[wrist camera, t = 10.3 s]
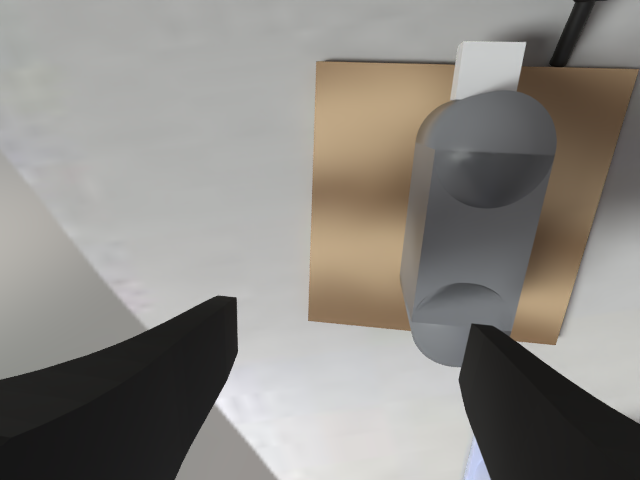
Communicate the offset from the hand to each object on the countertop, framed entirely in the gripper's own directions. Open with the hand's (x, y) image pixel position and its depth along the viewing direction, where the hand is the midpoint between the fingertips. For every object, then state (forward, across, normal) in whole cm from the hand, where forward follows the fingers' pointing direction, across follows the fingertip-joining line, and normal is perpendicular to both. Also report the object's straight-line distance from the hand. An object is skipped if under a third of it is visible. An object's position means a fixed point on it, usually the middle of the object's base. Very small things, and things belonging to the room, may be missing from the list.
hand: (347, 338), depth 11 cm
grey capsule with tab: (+9, -5, -2) cm, 10 cm away
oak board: (+9, -5, -2) cm, 11 cm away
